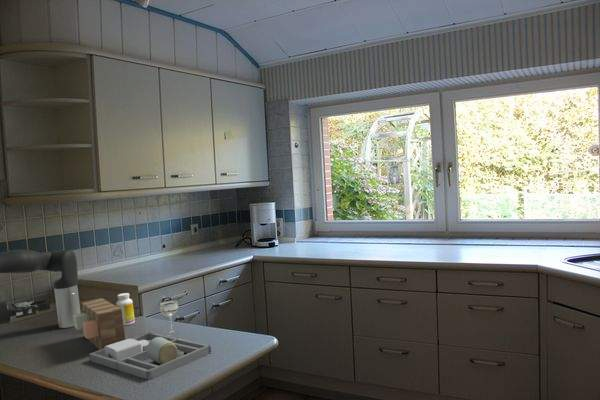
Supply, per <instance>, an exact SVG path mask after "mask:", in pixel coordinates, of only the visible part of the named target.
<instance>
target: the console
mask: <svg viewBox="0 0 600 400" xmlns="http://www.w3.org/2000/svg"><path fill="white" fill-rule="evenodd" d="M80 307H81V313H84V312H86V313H87V316H88V321H91V320H96V321H97V322H98V330H99V336H97V337H93V338H89V339H87V340H88V341H89V342H90V343H91V344H93V345H94V346H95V347H96V348H97V349H98V350H101V349H104V347H105V346H107V345H110V344H114V343H117V342H120V341H123V340H126V337H125V328H124V327H125V326H123V318H122V309H120V308H119V307H117V306H116V305H115V304H113V303H111V302H110V301H108V300H106V299H104V298H102V297H100V298H96V299H91V300H86V301H82V302H80Z"/></svg>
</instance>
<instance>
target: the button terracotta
mask: <svg viewBox="0 0 600 400" xmlns="http://www.w3.org/2000/svg"><path fill="white" fill-rule="evenodd" d="M82 324H83V329H82V330H83V337H84V338H85V339H87V340H88V339H89V338H93V337H97V336H99V330H98V322H97V321H96V320H91V321H87V322H83V323H82Z"/></svg>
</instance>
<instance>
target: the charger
mask: <svg viewBox="0 0 600 400" xmlns="http://www.w3.org/2000/svg"><path fill="white" fill-rule="evenodd" d="M150 341H151V340H148V341H147V340H141V341H137V340H134V339H133V338H125V340H123V341H120V342H117V343H114V344H110V345H107V346H105V347H104V349H105V357H108V358H111V359H114V360H117V361H119V360H122V359H124V358H127V357H130V356H132V355H135V354H138V353H140V352H143V351H144V349H145V348H146V349H147V346H148V344H149V342H150Z"/></svg>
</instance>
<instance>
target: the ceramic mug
mask: <svg viewBox="0 0 600 400" xmlns="http://www.w3.org/2000/svg"><path fill="white" fill-rule="evenodd" d="M146 350H147V356H148V357H149V358H148V359H149V360H151V361H153V362H155V363H158V364H160V365H162V364H164V363H167V362H169V361H171V360H174V359H176V358H179V357H181V356H183V355H185V354H184V353H183V352H182V351H179V350H177V347H176V345H175V344H174V343H172V342H170V341H168V340H166V339H164V338H162V337H156V338H154V339H152V340H150V341H149V344H148V346H147V347H146Z"/></svg>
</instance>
